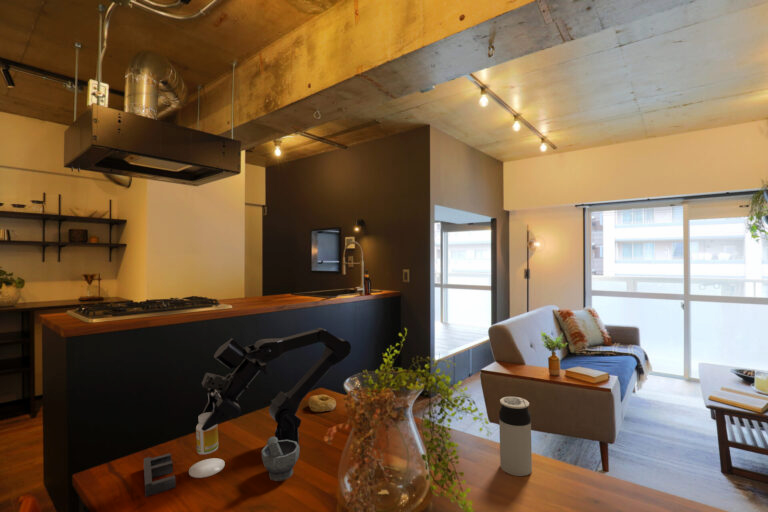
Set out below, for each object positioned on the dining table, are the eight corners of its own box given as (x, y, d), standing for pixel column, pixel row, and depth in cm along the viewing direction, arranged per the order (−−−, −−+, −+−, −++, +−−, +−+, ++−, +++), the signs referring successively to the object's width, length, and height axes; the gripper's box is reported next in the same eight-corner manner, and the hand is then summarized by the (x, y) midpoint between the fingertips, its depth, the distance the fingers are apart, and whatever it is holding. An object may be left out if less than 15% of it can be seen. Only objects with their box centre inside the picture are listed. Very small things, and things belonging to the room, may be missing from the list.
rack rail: (170, 461, 108) (170, 451, 108) (175, 487, 95) (175, 475, 95) (144, 469, 104) (143, 458, 104) (145, 497, 92) (144, 484, 92)
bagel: (325, 415, 138) (325, 402, 138) (302, 410, 143) (302, 397, 143) (341, 406, 147) (341, 393, 147) (319, 401, 152) (319, 390, 152)
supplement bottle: (222, 445, 106) (220, 410, 106) (211, 455, 101) (210, 419, 101) (204, 444, 107) (202, 410, 107) (192, 455, 102) (191, 419, 102)
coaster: (227, 458, 109) (227, 456, 109) (220, 475, 100) (220, 473, 100) (194, 461, 107) (194, 460, 107) (184, 479, 99) (184, 478, 99)
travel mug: (499, 474, 98) (498, 405, 98) (501, 458, 106) (499, 394, 106) (532, 479, 95) (530, 408, 96) (531, 463, 103) (529, 397, 103)
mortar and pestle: (272, 463, 106) (271, 420, 106) (304, 465, 105) (303, 421, 105) (253, 487, 95) (252, 439, 95) (289, 489, 93) (288, 441, 94)
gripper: (214, 355, 114) (173, 400, 108) (226, 369, 98) (180, 423, 92) (242, 375, 118) (204, 420, 112) (258, 392, 103) (216, 445, 97)
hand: (201, 426), depth 103 cm, fingers closed on supplement bottle, 5 cm apart
